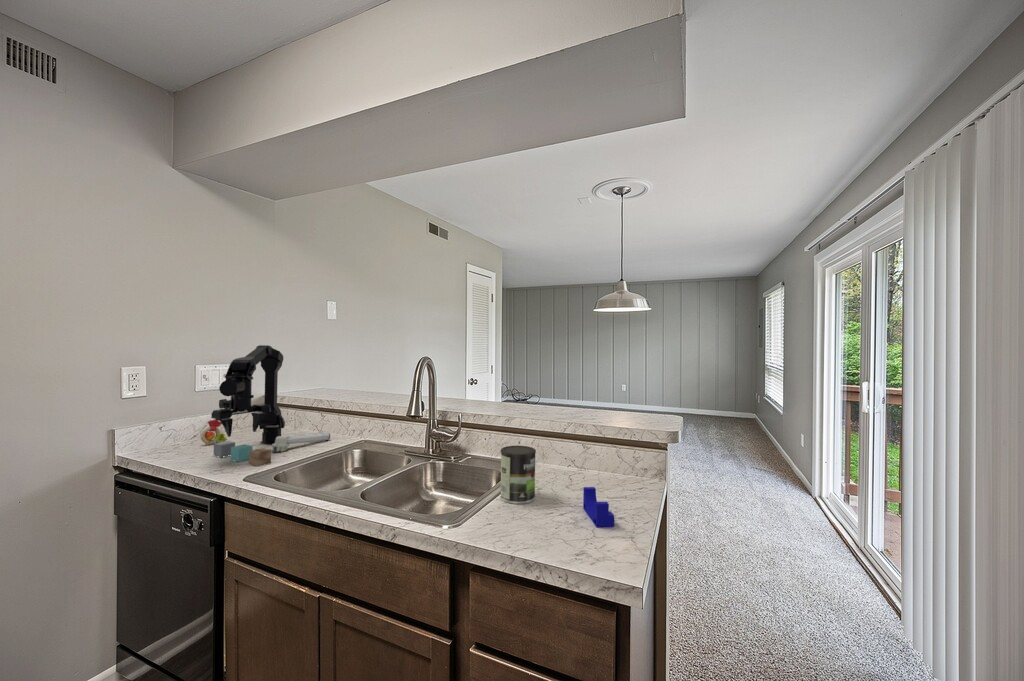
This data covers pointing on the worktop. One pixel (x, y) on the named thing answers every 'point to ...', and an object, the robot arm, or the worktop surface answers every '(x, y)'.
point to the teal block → (240, 452)
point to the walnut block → (260, 456)
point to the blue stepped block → (597, 509)
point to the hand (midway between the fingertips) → (242, 434)
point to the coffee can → (518, 474)
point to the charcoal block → (223, 448)
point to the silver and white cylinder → (298, 440)
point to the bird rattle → (208, 436)
